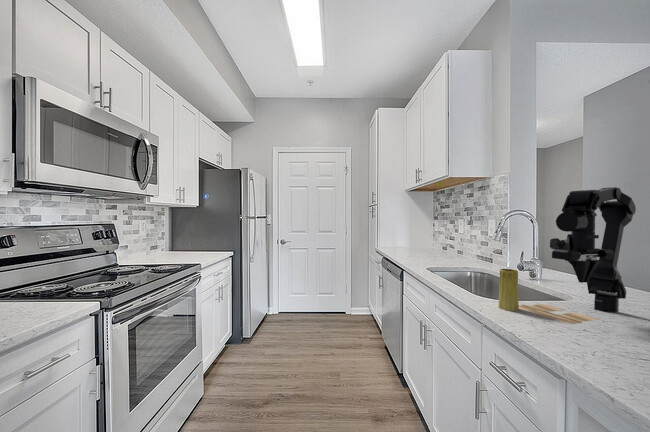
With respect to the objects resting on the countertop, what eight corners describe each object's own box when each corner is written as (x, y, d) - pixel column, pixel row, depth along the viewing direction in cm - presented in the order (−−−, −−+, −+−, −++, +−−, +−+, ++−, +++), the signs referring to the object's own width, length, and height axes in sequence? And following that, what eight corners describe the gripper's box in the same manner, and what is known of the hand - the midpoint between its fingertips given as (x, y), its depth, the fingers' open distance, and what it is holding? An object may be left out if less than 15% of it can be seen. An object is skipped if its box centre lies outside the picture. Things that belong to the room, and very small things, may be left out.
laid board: (523, 309, 115) (523, 304, 115) (581, 327, 96) (581, 321, 96) (511, 310, 113) (511, 305, 113) (568, 329, 94) (568, 323, 94)
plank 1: (544, 308, 116) (544, 304, 116) (565, 314, 109) (565, 309, 109) (526, 309, 114) (526, 305, 114) (546, 316, 107) (546, 311, 107)
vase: (520, 316, 106) (521, 271, 106) (499, 314, 108) (499, 270, 108) (516, 311, 112) (517, 269, 112) (496, 309, 114) (496, 268, 114)
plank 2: (574, 316, 106) (574, 312, 106) (599, 324, 99) (599, 319, 99) (555, 319, 104) (555, 314, 104) (580, 326, 97) (580, 321, 97)
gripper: (578, 230, 112) (577, 276, 112) (535, 230, 107) (535, 279, 107) (615, 231, 102) (615, 282, 101) (570, 231, 96) (570, 286, 96)
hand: (582, 282), depth 102 cm, fingers closed
